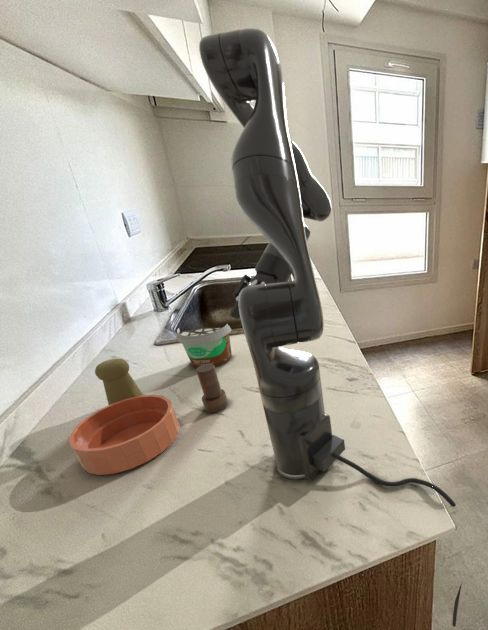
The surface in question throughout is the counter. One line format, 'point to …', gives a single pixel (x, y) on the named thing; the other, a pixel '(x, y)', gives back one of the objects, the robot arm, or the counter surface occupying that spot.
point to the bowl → (124, 434)
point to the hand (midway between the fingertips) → (246, 321)
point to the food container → (206, 345)
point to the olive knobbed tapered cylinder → (117, 380)
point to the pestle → (211, 389)
